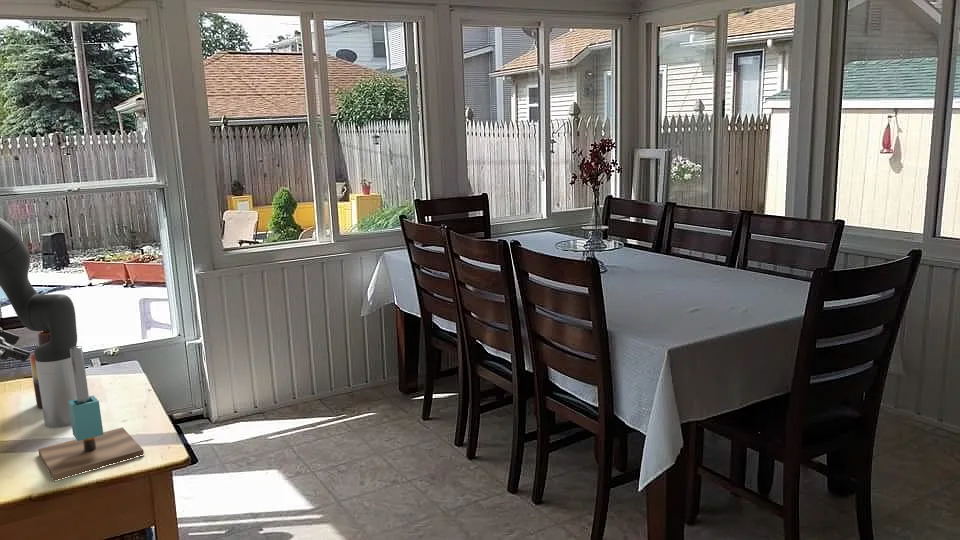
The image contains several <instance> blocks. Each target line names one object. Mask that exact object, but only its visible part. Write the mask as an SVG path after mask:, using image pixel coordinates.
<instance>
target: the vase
mask: <svg viewBox="0 0 960 540" xmlns="http://www.w3.org/2000/svg"><path fill="white" fill-rule="evenodd" d="M37 341H38V342H37V344H38V346H40V345H43V344H45V343H48V342H49V341H50V331H38V333H37ZM38 346H37V347H38ZM29 363H30V369H31V376H32V382H33V383H32V384H33V389H34V395H35V401H36V407H37V408H38V409H39V410H43V407H42V401H41V394H40V388H39V381H38V375H37V369H36V362H35V356H34V351H33V352H32V353H30V356H29Z"/></svg>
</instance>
